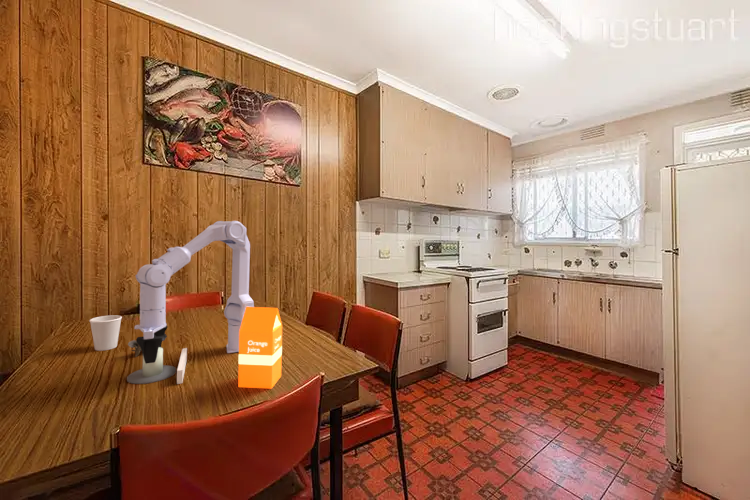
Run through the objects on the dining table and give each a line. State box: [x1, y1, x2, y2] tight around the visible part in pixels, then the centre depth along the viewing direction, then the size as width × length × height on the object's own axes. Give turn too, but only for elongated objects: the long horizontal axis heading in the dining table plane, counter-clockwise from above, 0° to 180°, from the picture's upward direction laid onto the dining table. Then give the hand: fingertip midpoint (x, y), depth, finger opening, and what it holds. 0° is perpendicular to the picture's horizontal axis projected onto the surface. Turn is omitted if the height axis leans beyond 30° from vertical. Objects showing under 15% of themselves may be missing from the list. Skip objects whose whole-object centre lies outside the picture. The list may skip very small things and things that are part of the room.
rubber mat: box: [126, 364, 177, 385], centre depth 85 cm, size 11×11×1 cm
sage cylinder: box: [142, 346, 164, 377], centre depth 85 cm, size 4×4×6 cm
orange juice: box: [237, 306, 283, 390], centre depth 83 cm, size 8×9×20 cm
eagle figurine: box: [127, 332, 168, 358], centre depth 101 cm, size 8×7×9 cm
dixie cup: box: [89, 314, 123, 352], centre depth 105 cm, size 8×8×10 cm
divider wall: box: [176, 347, 188, 385], centre depth 89 cm, size 1×18×4 cm, turn 28°
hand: (152, 357), depth 85 cm, fingers open, 7 cm apart
